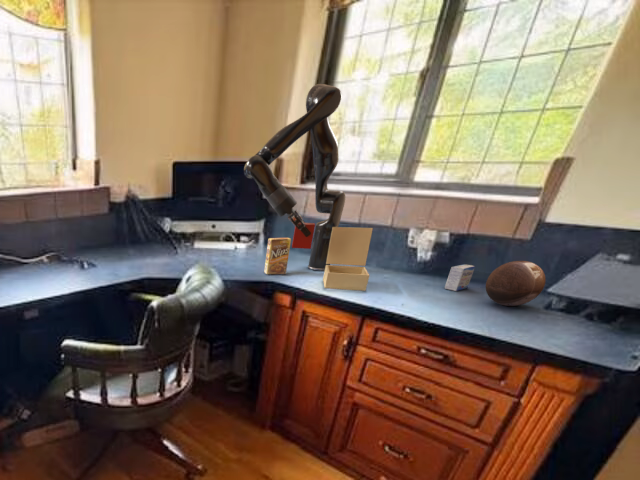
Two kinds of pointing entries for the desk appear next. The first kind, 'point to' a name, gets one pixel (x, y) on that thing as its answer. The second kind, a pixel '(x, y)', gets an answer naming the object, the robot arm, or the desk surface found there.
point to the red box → (303, 237)
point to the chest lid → (349, 246)
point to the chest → (345, 277)
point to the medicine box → (459, 277)
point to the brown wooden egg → (515, 283)
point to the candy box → (277, 255)
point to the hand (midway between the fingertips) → (308, 234)
